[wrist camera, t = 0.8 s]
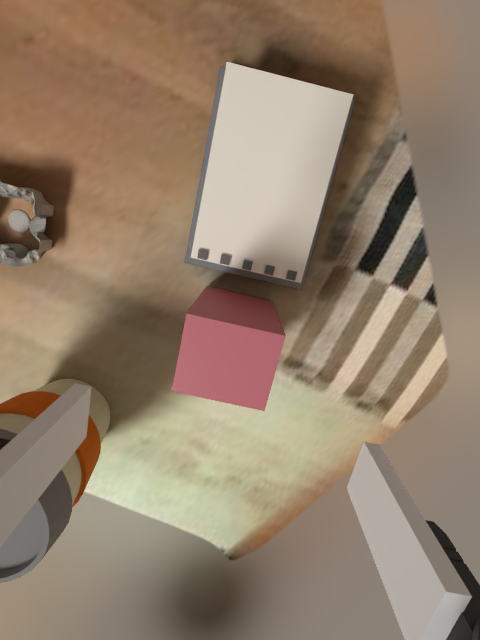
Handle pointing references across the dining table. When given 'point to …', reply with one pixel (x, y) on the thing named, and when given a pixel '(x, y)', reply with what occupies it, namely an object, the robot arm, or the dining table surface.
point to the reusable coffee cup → (64, 489)
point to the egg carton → (26, 226)
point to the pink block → (229, 349)
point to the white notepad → (266, 174)
